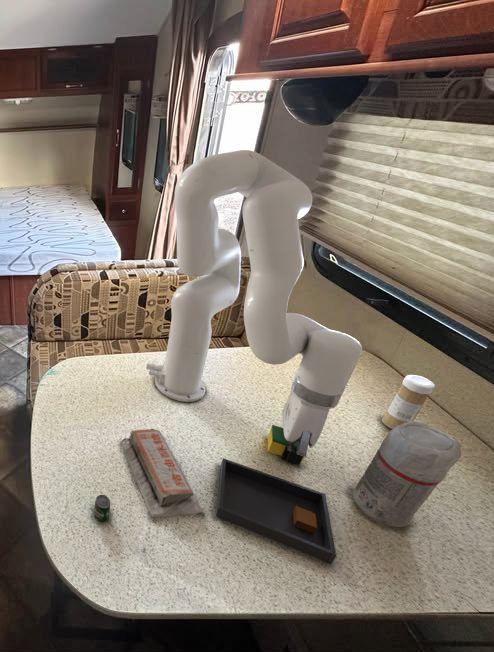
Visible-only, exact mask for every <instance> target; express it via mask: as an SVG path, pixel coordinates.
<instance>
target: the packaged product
mask: <svg viewBox="0 0 494 652" xmlns="http://www.w3.org/2000/svg"><path fill="white" fill-rule="evenodd" d="M121 444H122V447H123V449H124V451H125V454H126V458H127V461H128V463H129V466H130V469H131V472H132V474H133V477H134V479H135V481H136V484H137V487H138V489H139V491H140V493H141V495H142V498H143V500H144V503H145V504H146V507H147V509H148V512H149V514H150V516H151V518H163V517H165V518H166V517H175V516H177V517H178V516H187V515H196V514H200V513H201V514H202V513H203V511H204V509H203V507H202V506H201V504H200V502H199V499H198V498H197V497H196V494H195V493H194V491H193V489H192V488H191V485H190V484H189V482H188V480H187V478H186V476H185V474H184V473H183V470H182V468H181V467H180V464H178V462H177V460H176V457H175V456H174V454H173V452H172V451H171V449H170V447H169V445H168V443H167V441H166V439H165V437H164V435H163V434H162V432H161V431H160V430H159V429H155V428H150V429H149V428H147V429H136V430H135V429H134V430H133V429H132V430H131V431H130V435H129V437H128V438H127V437H124V438H123V439H122V440H121Z"/></svg>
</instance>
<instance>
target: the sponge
mask: <svg viewBox="0 0 494 652" xmlns="http://www.w3.org/2000/svg"><path fill="white" fill-rule="evenodd" d="M288 444H289V441H287V440H286V439H285V437H284V430H283V426H278V425H274V424H272V425H271V427H270V430H269V432H268V434H267V452H268V453H271V454H274V455H277V456H280V457H281V456H282V454H283V452H284V449H285V447H286V446H288ZM293 446H297V447H298V446H299V443H297V442H294V445H293ZM304 458H305V457H304V456H303V458H302V460H301V462H300V463H302V462H303V460H304Z"/></svg>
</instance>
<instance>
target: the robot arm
mask: <svg viewBox="0 0 494 652" xmlns="http://www.w3.org/2000/svg"><path fill="white" fill-rule="evenodd" d="M236 193H239V194H240V195H242V196H243V197H245V199H244V201H243V204H242V211H241V212H242V221H243V225H244V227H243V228H244V232H245V233H244V234H245V238H246V245H247V252H248V259H249V264H250V274H249V279H248V281H247V286H246V291H245V298H244V305H243V323H244V329H245V335H246V339H247V343H248V345H249V349H250V350H251V352H252V353H253V355H254V356H255V357H256V358H257V359H258V360H260V361H261V362H263V363H265V364H268V365H275V366H276V365H283V364H286V363H288V362H289V361H291V360H292V359H293V358H295V357H296V356H297V355H301V356H302V358H301V360H300V363H299V366H298V368H297V371H296V373H295V376H294V378H293V381H292V383H291V386H290V393H289V395H288V397H287V400H286V401H285V404H284V406H283V408H282V412H281V416H282V417H281V418H282V428H283V430H284V437H285V439H286V440H287V441H289V444H288V446H286V447H285V449H284V452H283V454H282V456H280V459H281V460H282V461H286V462H287V463H288V464H291V465H298V466H299V465H300V464H301V463H302V462H301V460H302V458H303V456H304V458H306V457H307V455H308V454H307V453H308V449H309V448H311V449H312V448H314V447H315V446H316V444H317V443H318V441H319V438H320V436H321V434H322V432H323V429H324V426H325V423H326V421H327V419H328V415H329V412H330V410H332V409H334V408H336V407H337V406H338V405H339V402H340V400H341V398H342V396H343V395H344V391H345V390H346V387H347V385H348V383H349V381H350V379H351V377H352V375H353V373H354V371H355V369H356V366H357V365H358V362H359V361H360V359H361V356H362V353H363V347H362V344H361V342H360V341H358V340H357V339H356V338H355V337H353V336H351V335H349V334H347V333H344V332H341V331H337V330H333V329H329V328H328V327H325V326H324V325H321V324H320V323H318V322H317V321H315V320H313V319H312V318H309V317H308V316H306V315H303V314H300V313H296V312H288V303H289V300H290V296H291V293H292V291H293V290H294V288H295V285H296V284H297V282H298V280H299V278H300V276H301V274H302V272H303V268H304V265H305V262H304V261H305V260H304V255H303V248H302V239H301V234H300V233H301V232H300V224H299V219H301V218H303V217H304V216H306V215H307V214H308V213H309V211H310V210H311V207H312V205H313V194H312V192H311V190H310V187H308V186H307V184H305V183H304V181H302V180H301V179H299V178H298V177H297V176H295V175H294V174H292V173H291V172H289V171H287V170H285V169H284V168H283V167H281V166H279V165H278V164H276V163H275V162H273V161H272V160H270V159H269V158H268V157H265V156H264V155H262V154H261V153H258V152H256V151H254V150H250V149H240V150H239V149H238V150H234V151H228V152H221V153H217V154H212V155H209V156H206V157H203V158H201V159H199V160H197V161H195V162H193V163H192V164H190V165H189V166H187V168H186V169H184V170H183V172H182V173H181V174H180V176H179V177H178V179H177V182H176V184H175V188H174V207H175V217H176V261H177V266H178V269H179V271H180V272H181V273H182V274H183V275H185V276H186V277H189V278H194V279H192V280H190V281H188V282H185V283H184V284H182V285H181V286H178V288H177V289H176V290H175V291H174V293H173V294H172V296H171V299H170V300H171V301H170V308H171V321H170V329H169V334H168V340H167V347H166V352H165V358H164V362H163V364H155V363H151V362H147V363H146V367H145V369H146V370H149V371H148V375H149V376H153V377H155V379H154V384H155V387H157V390H159V391H160V392H161V393H162V394H163V395H164V396H166V397H168V398H170V399H172V400H175V401H178V402H184V403H189V402H197V401H199V400H201V399H202V398H203V397H204V396H205V392H206V385H205V383H204V381H203V380H202V378H203V374H204V370H205V365H206V361H207V357H208V353H209V349H210V344H211V341H212V335H213V329H212V323H211V322H212V318H213V317H214V316H215V315H217V314H218V313H220V312H221V311H223V310H225V309H226V308H229V307H230V306H231V305H232V304H234V303H235V302H236V301H237V299H238V297H239V294H240V289H241V288H240V287H241V263H242V262H241V261H242V249H241V245H240V242H239V240H238V238H237V236H236V235H235V234H234V233H233V232H232V231H231V230H228V229H225V228H219V212H218V209H217V207H216V204H215V200H216V199H218V198H221V197H224V196H228V195H232V194H236ZM294 442H297V443H299V446H298V447H297V446H293V445H294ZM304 458H303V459H304ZM302 461H303V460H302Z"/></svg>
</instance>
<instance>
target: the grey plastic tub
mask: <svg viewBox="0 0 494 652" xmlns="http://www.w3.org/2000/svg"><path fill="white" fill-rule="evenodd" d="M461 457H462V445H461V443H460V442H459V441H457V440H456V439H454V438H453V437H451V436H450V435H448V434H447V433H446V432H445V431H443V430H440V429H437V428H435V427H433V426H431V425H429V424H428V423H425V422H424V421H416V420H413V421H409V422H407V423H403V424H401V425H398V426H396V427H394V428H393V429H391V430H390V431H389V432H388V433H387V434H386V435H385V437H384V438H383V440H382V441H381V443H380V446H379V448H378V449H377V451H376V452H375V455H374V456H373V458H372V459H371V462H370V464H368V467H367V468H366V469H365V471H364V473H363V475H362V476H361V477H360V479H359V480H358V482H357V484H356V486H355V487H354V488H353V489H352V490H351V491H352V492H351V495H352V498H353V500H354V502H355V503H356V505H357V506H358V508H359V509H361V511H362V512H363V513H364V514H366V515H367V516H368V517H370V518H371V519H372V520H375V521H377V522H378V523H381V524H383V525H386V526H391V527H396V528H402V527H404V528H405V527H407V526H410V524H411V520H412V519H413V517H414V516H415V515H416V513H417V512H418V511H419V509H420V508H421V507H422V505H424V503H425V502H426V501H427V499H428V498H429V497H430V496H431V495H432V494H433V492H434V490H435V488H436V487H437V486H438V485H439V484H440V483H441V482H442V481H444V480H445V478H447V475H448V473H449V471H450V470H451V469H452V468H453V466H454V465H455V464H457V463H458V461H459V459H461Z"/></svg>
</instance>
